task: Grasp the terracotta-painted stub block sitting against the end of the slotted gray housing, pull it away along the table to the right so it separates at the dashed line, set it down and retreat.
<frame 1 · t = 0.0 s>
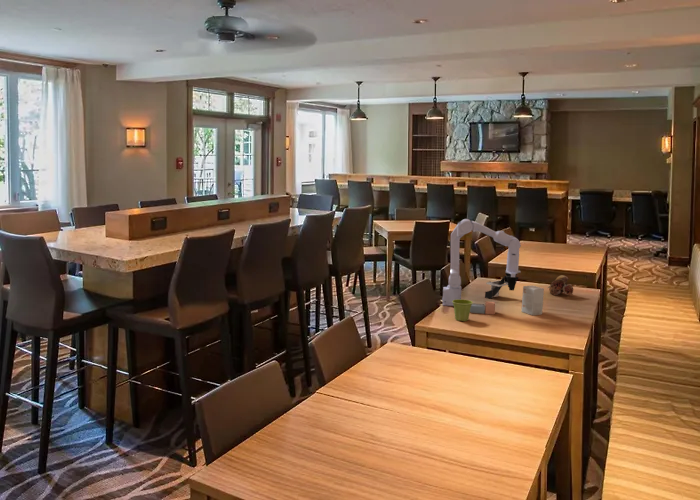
hand: (510, 288, 309), 10 cm above the table, tool pointing down, fingers open, 7 cm apart
stub: (489, 312, 301), on the table
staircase: (496, 299, 333), on the table
small box: (531, 313, 302), on the table
slotted gray housing: (475, 311, 302), on the table
seed pod: (559, 295, 344), on the table
plant pot: (461, 320, 286), on the table
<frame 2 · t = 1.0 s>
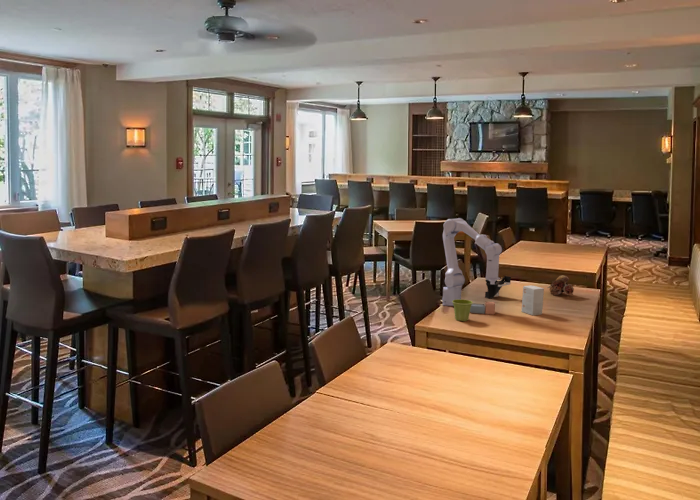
hand: (490, 296, 299), 8 cm above the table, tool pointing down, fingers open, 7 cm apart
nothing on the table moved.
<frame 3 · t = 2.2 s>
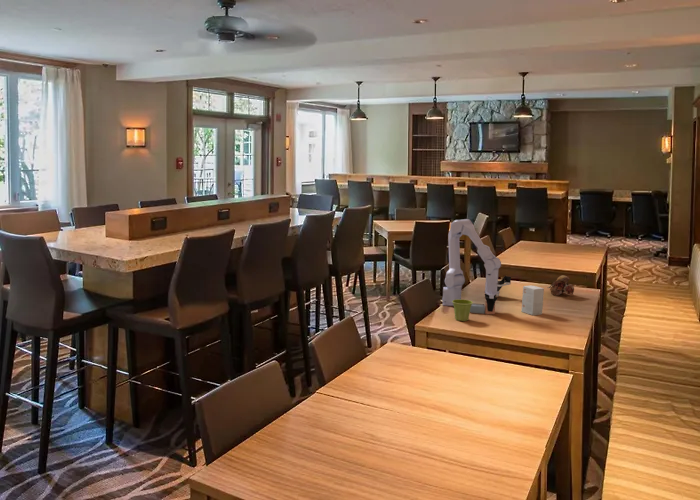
hand: (489, 309, 300), 1 cm above the table, tool pointing down, fingers closed on stub, 5 cm apart
stub: (489, 312, 301), on the table, touching gripper
everything else where it was.
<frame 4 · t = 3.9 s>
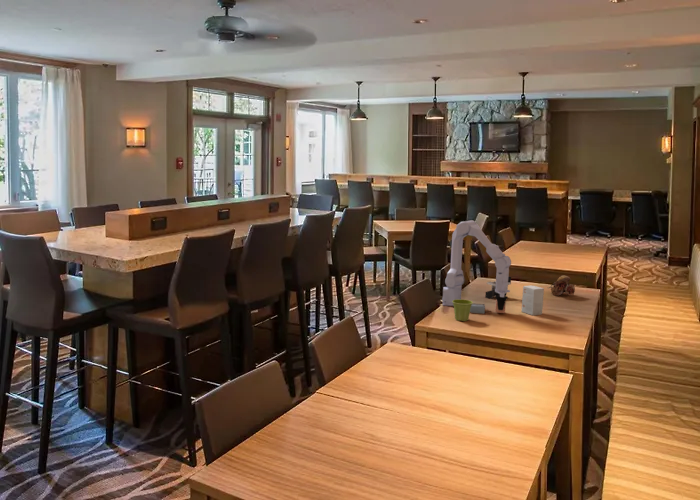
hand: (500, 308, 299), 2 cm above the table, tool pointing down, fingers closed on stub, 5 cm apart
stub: (500, 311, 300), point 1 cm above the table, touching gripper
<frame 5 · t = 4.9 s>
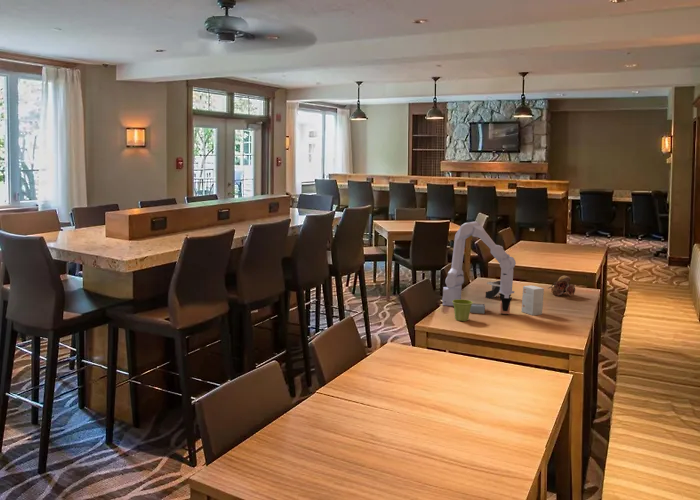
hand: (504, 309, 299), 2 cm above the table, tool pointing down, fingers closed on stub, 5 cm apart
stub: (504, 312, 299), point 1 cm above the table, touching gripper
when the fingers open (2 cm above the table, at t = 5.6 s): stub stays where it is, on the table.
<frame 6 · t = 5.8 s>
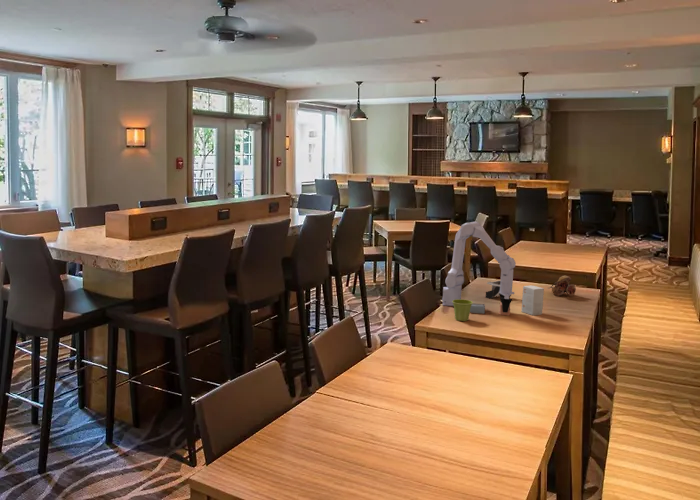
hand: (504, 310, 299), 2 cm above the table, tool pointing down, fingers open, 7 cm apart
stub: (504, 313, 299), on the table
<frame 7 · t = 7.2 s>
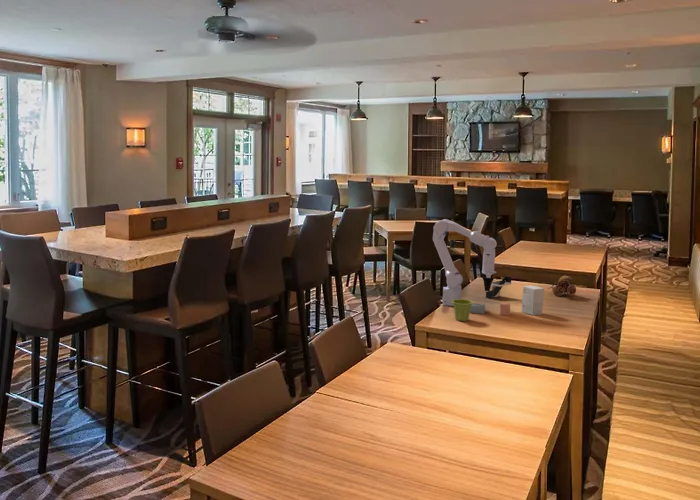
hand: (486, 289, 307), 10 cm above the table, tool pointing down, fingers open, 7 cm apart
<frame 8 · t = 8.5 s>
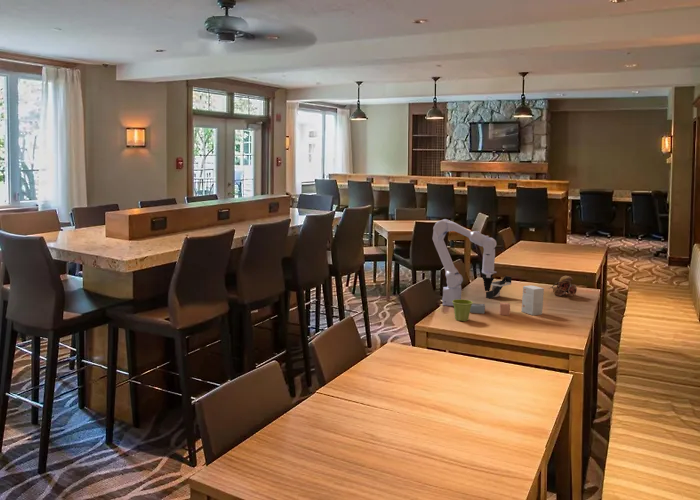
hand: (486, 289, 307), 10 cm above the table, tool pointing down, fingers open, 7 cm apart
at the end: stub inside the target area on the table beside the slotted gray housing (1.2 cm from its centre), on the table; stub tilted 0°; the gripper is holding nothing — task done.
